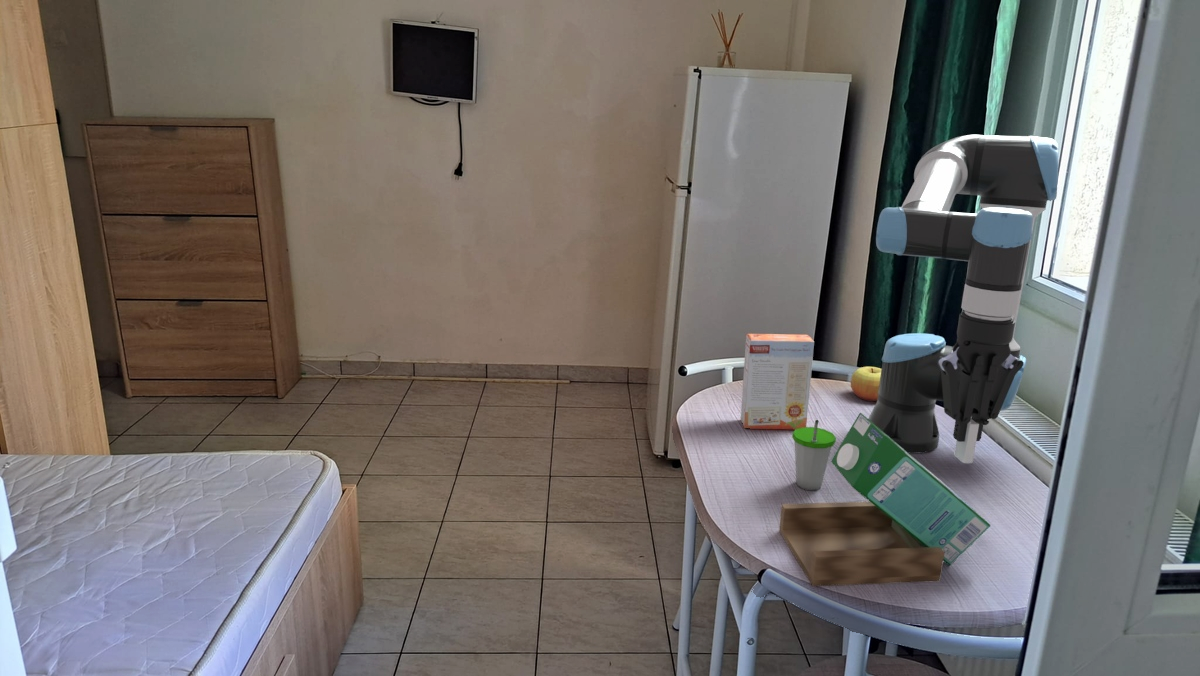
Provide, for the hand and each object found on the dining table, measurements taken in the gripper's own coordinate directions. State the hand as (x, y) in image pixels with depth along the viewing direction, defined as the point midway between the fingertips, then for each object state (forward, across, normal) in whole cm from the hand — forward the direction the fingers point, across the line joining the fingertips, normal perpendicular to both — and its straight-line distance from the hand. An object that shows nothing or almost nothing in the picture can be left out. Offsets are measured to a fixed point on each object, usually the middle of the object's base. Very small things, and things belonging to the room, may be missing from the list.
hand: (963, 459), depth 122 cm
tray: (+17, +16, 0) cm, 23 cm away
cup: (+17, +14, -24) cm, 33 cm away
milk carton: (+13, -1, 0) cm, 13 cm away
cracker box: (+17, +12, -53) cm, 57 cm away
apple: (+17, -18, -69) cm, 73 cm away
